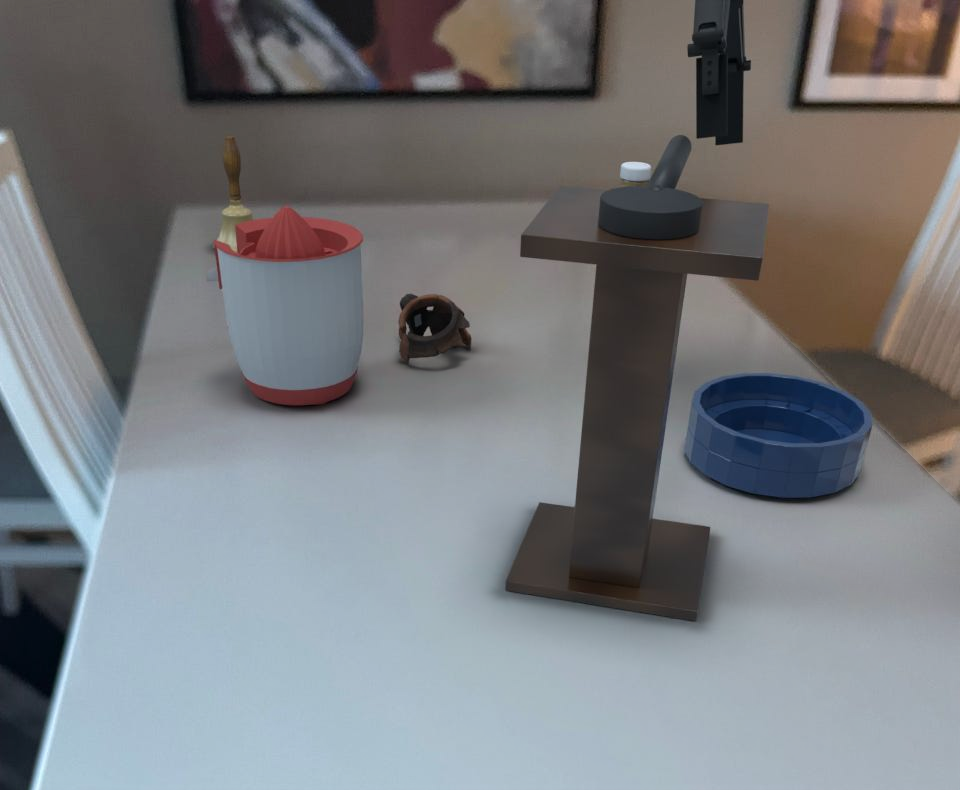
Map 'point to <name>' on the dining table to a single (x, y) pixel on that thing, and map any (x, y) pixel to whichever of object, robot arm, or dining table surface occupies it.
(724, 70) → the robot arm
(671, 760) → the dining table surface
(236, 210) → the hand bell
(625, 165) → the sprinkles bottle
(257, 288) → the citrus juicer
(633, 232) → the long-handled flat disc
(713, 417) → the bowl
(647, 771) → the dining table surface
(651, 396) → the wooden pedestal stand
